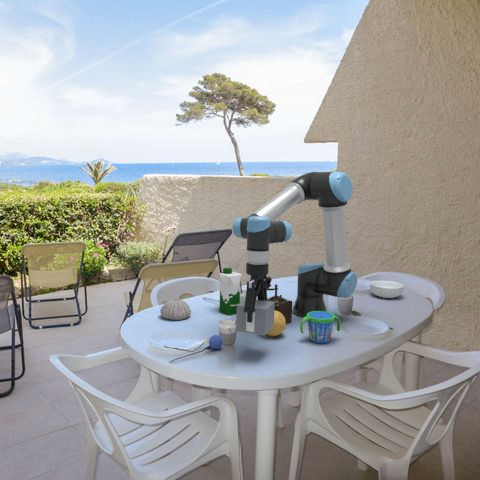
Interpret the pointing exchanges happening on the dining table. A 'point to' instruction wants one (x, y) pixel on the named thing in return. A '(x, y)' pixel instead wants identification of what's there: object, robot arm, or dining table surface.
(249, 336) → the dining table surface
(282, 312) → the coffee grinder
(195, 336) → the dining table surface
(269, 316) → the grey cube
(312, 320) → the snack cup
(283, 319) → the stress ball
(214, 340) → the ball
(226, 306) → the milk carton
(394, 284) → the cereal bowl
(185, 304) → the sea urchin shell
